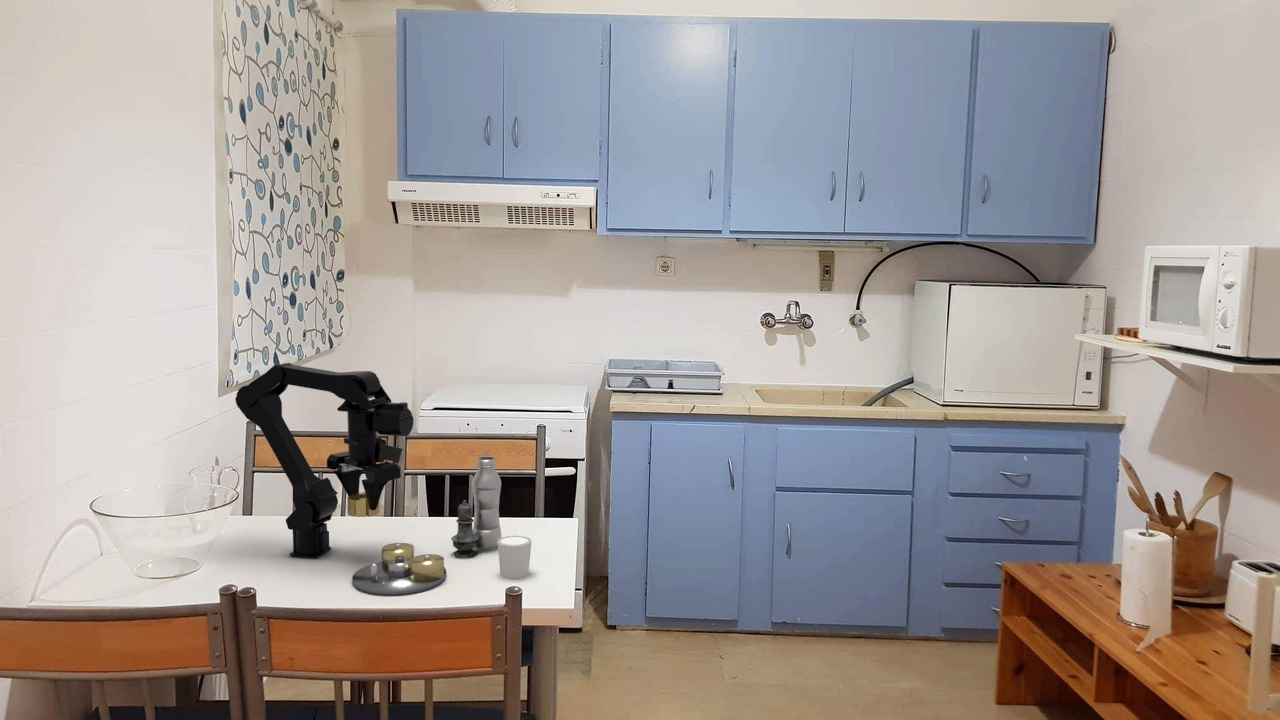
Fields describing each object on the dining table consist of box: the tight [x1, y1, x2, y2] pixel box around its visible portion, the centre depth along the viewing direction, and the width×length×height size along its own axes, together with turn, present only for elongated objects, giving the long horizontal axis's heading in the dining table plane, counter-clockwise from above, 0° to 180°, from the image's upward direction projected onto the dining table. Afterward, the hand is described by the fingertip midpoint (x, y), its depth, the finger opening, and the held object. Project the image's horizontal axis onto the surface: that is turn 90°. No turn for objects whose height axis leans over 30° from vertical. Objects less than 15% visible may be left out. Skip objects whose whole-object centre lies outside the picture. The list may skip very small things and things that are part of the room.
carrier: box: [352, 542, 447, 597], centre depth 187 cm, size 18×18×5 cm
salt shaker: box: [450, 499, 479, 559], centre depth 202 cm, size 6×6×12 cm
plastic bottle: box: [471, 455, 503, 550], centre depth 206 cm, size 6×7×20 cm
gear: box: [346, 491, 382, 518], centre depth 197 cm, size 6×6×4 cm
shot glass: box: [497, 535, 532, 580], centre depth 191 cm, size 7×7×7 cm
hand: (364, 506), depth 197 cm, fingers closed on gear, 6 cm apart
